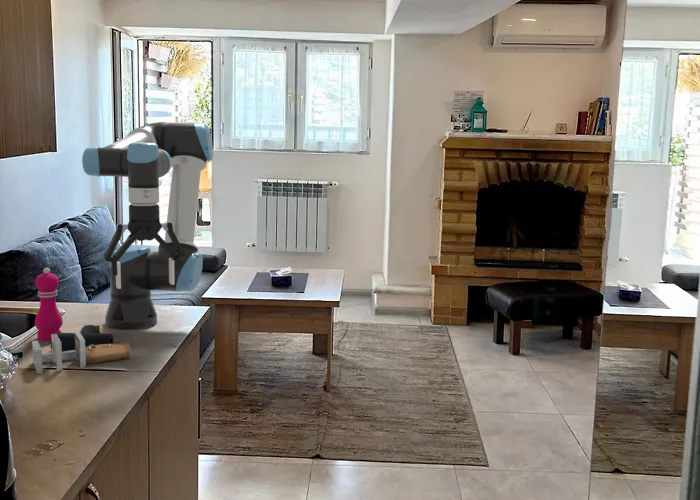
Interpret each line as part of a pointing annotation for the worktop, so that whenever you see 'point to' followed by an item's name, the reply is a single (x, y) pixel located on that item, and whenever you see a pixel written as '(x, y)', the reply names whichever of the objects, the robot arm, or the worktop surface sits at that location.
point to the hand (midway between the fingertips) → (145, 285)
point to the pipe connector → (88, 333)
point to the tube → (107, 352)
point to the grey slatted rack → (59, 353)
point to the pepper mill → (47, 306)
